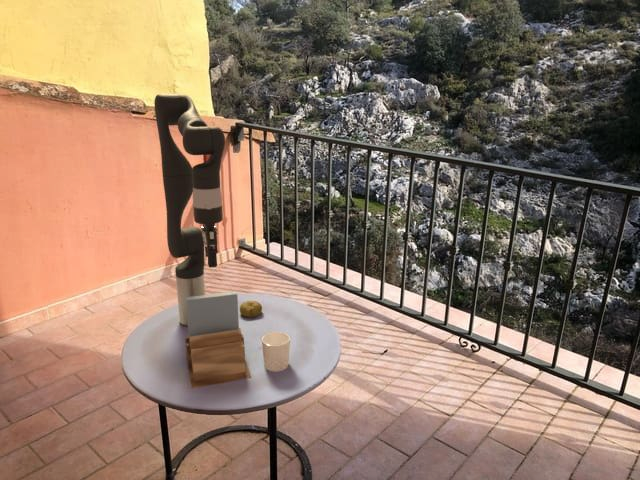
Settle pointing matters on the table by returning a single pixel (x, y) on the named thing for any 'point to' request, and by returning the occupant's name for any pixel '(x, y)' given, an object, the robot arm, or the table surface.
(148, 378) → the table surface
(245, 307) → the sculpture
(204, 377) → the short oak offcut
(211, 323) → the tall board
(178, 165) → the robot arm
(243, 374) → the rack
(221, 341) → the tall oak offcut
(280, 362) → the white cup
